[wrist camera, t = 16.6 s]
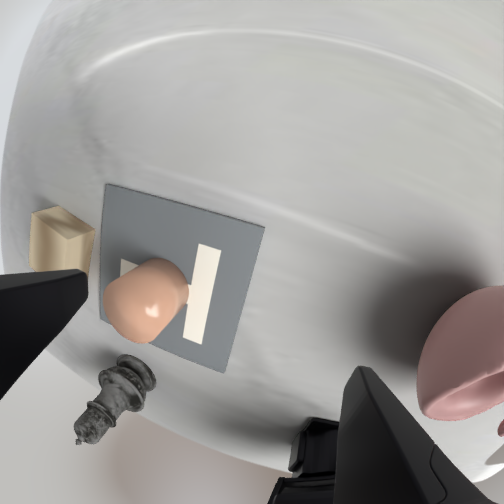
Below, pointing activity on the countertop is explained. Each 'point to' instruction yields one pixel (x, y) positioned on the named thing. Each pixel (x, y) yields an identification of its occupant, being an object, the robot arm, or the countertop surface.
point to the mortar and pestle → (464, 359)
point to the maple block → (59, 241)
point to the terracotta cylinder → (145, 299)
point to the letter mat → (183, 266)
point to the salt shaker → (115, 397)
